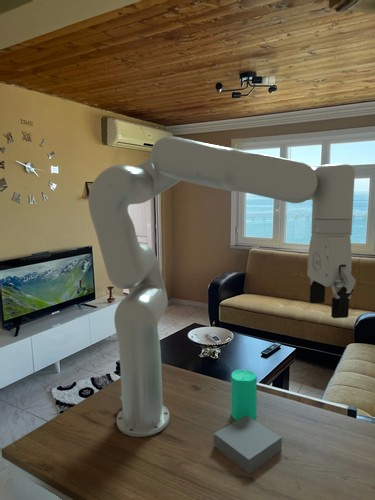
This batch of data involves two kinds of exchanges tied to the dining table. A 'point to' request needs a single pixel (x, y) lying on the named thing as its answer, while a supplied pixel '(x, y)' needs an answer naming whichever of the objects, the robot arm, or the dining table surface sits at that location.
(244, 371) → the candle
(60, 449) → the dining table surface
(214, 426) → the dining table surface
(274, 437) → the plinth
